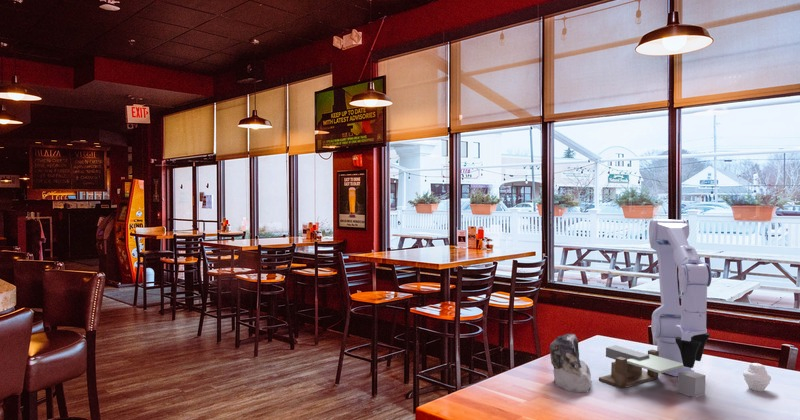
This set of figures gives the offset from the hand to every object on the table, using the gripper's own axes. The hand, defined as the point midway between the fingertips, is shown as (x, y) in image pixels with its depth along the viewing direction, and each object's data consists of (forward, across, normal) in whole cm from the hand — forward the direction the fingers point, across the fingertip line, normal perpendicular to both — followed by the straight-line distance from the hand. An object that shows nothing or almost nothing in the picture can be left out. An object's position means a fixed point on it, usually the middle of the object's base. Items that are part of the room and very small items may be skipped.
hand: (692, 363), depth 137 cm
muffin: (+8, -15, +12) cm, 21 cm away
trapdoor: (+3, +1, -12) cm, 13 cm away
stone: (+8, +15, -26) cm, 31 cm away
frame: (+8, 0, -15) cm, 17 cm away
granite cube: (+8, 0, 0) cm, 8 cm away
